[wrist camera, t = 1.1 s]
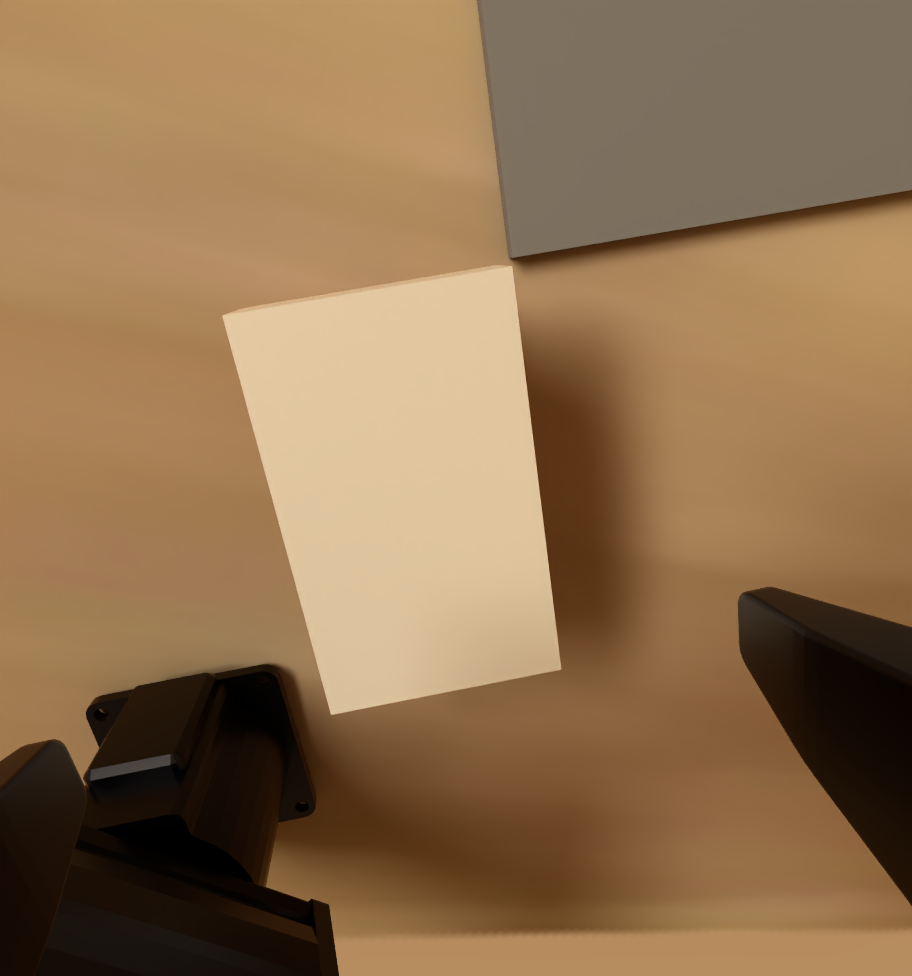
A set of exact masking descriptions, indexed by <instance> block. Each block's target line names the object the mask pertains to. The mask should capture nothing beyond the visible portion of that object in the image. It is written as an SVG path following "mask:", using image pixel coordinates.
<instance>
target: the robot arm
mask: <svg viewBox="0 0 912 976" xmlns="http://www.w3.org/2000/svg"><path fill="white" fill-rule="evenodd" d="M738 622H739V646H740V652H741V655H742V658H743V660H744V663H745V665H746V666H747V668H748V670H749V671H750V673H751V675H752V676H753V678H754V680H755V681H756V683H757V685H758V686H759V688H760V690H761V691H762V693H763V695H764V697H765V698H766V700H767V702H768V703H769V705H770V707H771V708H772V710H773V712H774V713H775V715H776V717H777V718H778V720H779V722H780V723H781V725H782V727H783V728H784V730H785V732H786V733H787V735H788V737H789V738H790V740H791V742H792V743H793V745H794V747H795V748H796V750H797V751H798V753H799V754H800V756H801V758H802V759H803V761H804V762H805V764H806V765H807V766H808V768H809V769H810V771H811V772H812V773H813V775H814V776H815V778H816V779H817V780H818V782H819V783H820V784H821V786H822V787H823V788H824V790H825V791H826V792H827V794H828V795H829V796H830V798H831V799H832V800H833V802H834V803H835V804H836V806H837V807H838V808H839V810H840V811H841V812H842V814H843V815H844V816H845V818H846V819H847V820H848V822H849V823H850V824H851V826H852V827H853V828H854V830H855V831H856V832H857V834H858V835H859V836H860V838H861V839H862V840H863V842H864V843H865V844H866V845H867V847H868V848H869V849H870V851H871V852H872V853H873V855H874V856H875V857H876V859H877V860H878V861H879V863H880V864H881V865H882V867H883V868H884V869H885V871H886V872H887V873H888V875H889V876H890V877H891V879H892V880H893V881H894V883H895V884H896V885H897V887H898V888H899V889H900V891H901V892H902V893H903V895H904V896H905V897H906V899H907V900H908V901H909V903H910V904H911V905H912V627H909V626H905V625H902V624H899V623H895V622H892V621H888V620H885V619H881V618H878V617H874V616H871V615H867V614H864V613H861V612H857V611H854V610H850V609H847V608H843V607H840V606H836V605H833V604H830V603H826V602H823V601H819V600H816V599H812V598H809V597H805V596H802V595H798V594H795V593H792V592H788V591H785V590H781V589H778V588H774V587H765V588H760V589H756V590H751V591H747V592H744V593H742V594H741V596H740V597H739V600H738ZM262 677H265V678H268V679H269V680H270V681H271V682H269V683H263V682H261V681H260V680H259V678H262ZM99 709H104V710H106V711H108V713H109V714H104V713H102V712H101V711H100V710H99ZM86 717H87V720H88V722H89V725H90V727H91V729H92V732H93V734H94V736H95V739H96V741H97V743H98V746H99V750H98V752H97V753H96V755H95V757H94V759H93V760H92V762H91V764H90V765H89V767H88V769H87V771H86V772H85V774H84V777H83V779H84V782H85V784H86V785H85V786H84V784H83V782H82V780H81V777H80V775H79V773H78V771H77V769H76V767H75V765H74V763H73V760H72V758H71V756H70V754H69V752H68V750H67V748H66V746H65V745H64V744H63V743H62V742H61V741H59V740H55V739H52V740H47V741H42V742H38V743H33V744H28V745H25V746H23V747H21V748H19V749H18V750H16V751H15V752H13V753H12V754H10V755H9V756H7V757H6V758H4V759H3V760H2V761H0V976H339V972H338V965H337V958H336V951H335V944H334V937H333V930H332V923H331V916H330V909H329V905H328V904H326V903H323V902H320V901H317V900H314V899H311V900H310V901H309V902H308V901H305V900H302V899H299V898H296V897H293V896H290V895H287V894H284V893H281V892H278V891H275V890H272V889H270V888H267V887H266V883H267V878H268V872H269V867H270V862H271V857H272V851H273V846H274V841H275V836H276V830H277V825H278V822H283V821H288V820H293V819H297V818H302V817H306V816H309V815H311V814H312V813H313V812H314V810H315V807H316V793H315V790H314V787H313V783H312V780H311V777H310V773H309V770H308V766H307V763H306V760H305V756H304V753H303V750H302V746H301V743H300V740H299V736H298V733H297V729H296V726H295V723H294V719H293V716H292V713H291V709H290V706H289V703H288V699H287V696H286V692H285V689H284V686H283V682H282V679H281V676H280V673H279V671H278V670H277V669H276V668H275V667H274V666H271V665H258V666H252V667H247V668H242V669H237V670H232V671H227V672H221V673H216V674H210V673H202V674H197V675H192V676H186V677H181V678H176V679H171V680H166V681H160V682H155V683H150V684H145V685H140V686H137V687H136V688H135V689H133V690H128V691H123V692H118V693H112V694H107V695H102V696H99V697H96V698H95V699H94V700H93V701H92V702H91V704H90V705H89V707H88V708H87V711H86ZM300 801H304V802H306V803H305V804H301V803H298V802H300Z"/></svg>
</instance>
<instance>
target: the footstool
mask: <svg viewBox="0 0 912 976" xmlns="http://www.w3.org/2000/svg"><path fill="white" fill-rule="evenodd" d="M223 320H224V323H225V327H226V331H227V334H228V338H229V342H230V345H231V349H232V353H233V356H234V360H235V364H236V367H237V371H238V375H239V378H240V382H241V386H242V389H243V393H244V397H245V400H246V404H247V408H248V411H249V415H250V419H251V422H252V426H253V430H254V434H255V437H256V441H257V445H258V448H259V452H260V456H261V459H262V463H263V467H264V470H265V474H266V478H267V481H268V485H269V489H270V492H271V496H272V500H273V503H274V507H275V511H276V514H277V518H278V522H279V525H280V529H281V533H282V536H283V540H284V544H285V547H286V551H287V555H288V558H289V562H290V566H291V569H292V573H293V577H294V580H295V584H296V588H297V591H298V595H299V599H300V602H301V606H302V610H303V613H304V617H305V621H306V624H307V628H308V632H309V635H310V639H311V643H312V646H313V650H314V654H315V657H316V661H317V665H318V668H319V672H320V676H321V679H322V683H323V687H324V690H325V694H326V698H327V701H328V705H329V709H330V712H331V715H333V714H338V713H343V712H348V711H353V710H358V709H364V708H369V707H374V706H379V705H384V704H389V703H394V702H399V701H404V700H409V699H414V698H420V697H425V696H430V695H435V694H440V693H445V692H450V691H455V690H460V689H465V688H470V687H475V686H481V685H486V684H491V683H496V682H501V681H506V680H511V679H516V678H521V677H526V676H531V675H537V674H542V673H547V672H552V671H557V670H561V663H560V655H559V646H558V638H557V630H556V622H555V614H554V605H553V597H552V589H551V581H550V573H549V565H548V556H547V548H546V540H545V532H544V524H543V515H542V507H541V499H540V491H539V483H538V474H537V466H536V458H535V450H534V442H533V434H532V425H531V417H530V409H529V401H528V393H527V384H526V376H525V368H524V360H523V352H522V343H521V335H520V327H519V319H518V311H517V303H516V294H515V286H514V278H513V270H512V266H502V265H494V266H488V267H483V268H477V269H471V270H465V271H459V272H453V273H447V274H441V275H436V276H430V277H424V278H418V279H412V280H406V281H400V282H394V283H389V284H383V285H377V286H371V287H365V288H359V289H353V290H347V291H342V292H336V293H330V294H324V295H318V296H312V297H306V298H300V299H295V300H289V301H283V302H277V303H271V304H265V305H259V306H253V307H248V308H242V309H239V310H237V311H234V312H231V313H228V314H225V315H223Z"/></svg>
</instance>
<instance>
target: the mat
mask: <svg viewBox="0 0 912 976" xmlns="http://www.w3.org/2000/svg"><path fill="white" fill-rule="evenodd" d="M477 4H478V12H479V20H480V28H481V37H482V45H483V53H484V61H485V69H486V77H487V85H488V93H489V101H490V110H491V118H492V126H493V134H494V142H495V150H496V158H497V166H498V174H499V183H500V191H501V199H502V207H503V215H504V223H505V231H506V239H507V247H508V256H509V258H514V257H520V256H526V255H532V254H538V253H544V252H550V251H556V250H561V249H567V248H573V247H579V246H585V245H591V244H597V243H603V242H609V241H614V240H620V239H626V238H632V237H638V236H644V235H650V234H656V233H662V232H667V231H673V230H679V229H685V228H691V227H697V226H703V225H709V224H714V223H720V222H726V221H732V220H738V219H744V218H750V217H756V216H762V215H767V214H773V213H779V212H785V211H791V210H797V209H803V208H809V207H815V206H820V205H826V204H832V203H838V202H844V201H850V200H856V199H862V198H868V197H873V196H879V195H885V194H891V193H897V192H903V191H909V190H912V0H477Z"/></svg>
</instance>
